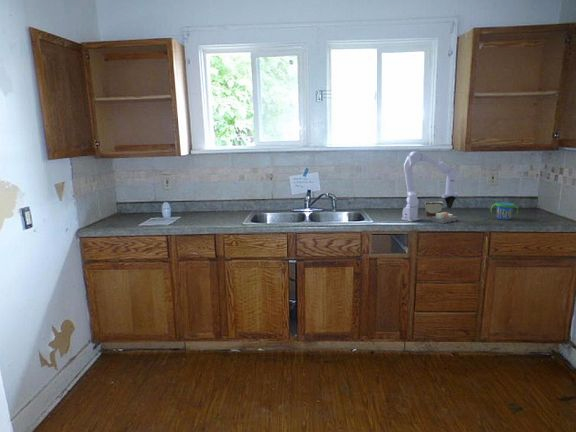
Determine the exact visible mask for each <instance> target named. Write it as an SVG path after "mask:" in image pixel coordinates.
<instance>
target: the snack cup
mask: <svg viewBox="0 0 576 432" xmlns="http://www.w3.org/2000/svg"><path fill="white" fill-rule="evenodd" d="M494 206H495V208H496V210H495V211H496V219H498V220H503V221H504V220H505V221H508V220H511V216H512V214H513V210H514V208H516V209H517V210H516V213H515V214H516V216H517V215H518V214H519V208H518V206H517V205H515V203H511V202H495V203H493V204H492V205H491V207H490V213H491V214H492V213H493V212H492V211H493V207H494Z"/></svg>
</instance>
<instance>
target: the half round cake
mask: <svg viewBox="0 0 576 432" xmlns="http://www.w3.org/2000/svg"><path fill="white" fill-rule="evenodd" d="M424 206H425V217H429V218H431V217H435V216H436V213H441V212H443V211H442V210H443V206H444V202H443V201H440V200H425V202H424Z"/></svg>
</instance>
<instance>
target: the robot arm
mask: <svg viewBox="0 0 576 432" xmlns="http://www.w3.org/2000/svg"><path fill="white" fill-rule="evenodd" d="M418 162H426V163H427V164H430V165H432V166H433V167H435V170H436V171H438V172H440V173H442V174H444V175H446V180H445V182H446V183H445V193H443V194H441V198H442V199H444V200H445V204H446V208H447V209H452V207H453V205H454V202H455V200H456V198H457V197H459V192H456V189H457V188H456V187H457V177H458V175H459V173H458V169H456V168H453V166H452V165H449V164H446V162H445V161H439V162H438V161H437V160H435V159H433V158H432V157H430V156H429V155H427V154H425V153H421V152H419V151H415V150H414V151H413V150H412V151H411V152H410V153H408V155H407V156H406V158H405V162H404V163H403V171H404V177H405V184H406V191H407V192H406V195H407V196H406V199H405V200H406V206H405V207H403V209H402V217H401V220H404V221H408V222H414V221H419V220H420V221H421V218H418V213H419V211H418V210H419V202H420V201H419V199H418V197H417V194H416V193H417V192H416V188H415V180H414V179H415V178H414V173H413V167H414V165H415V164H417V163H418Z"/></svg>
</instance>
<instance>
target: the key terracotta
mask: <svg viewBox="0 0 576 432" xmlns="http://www.w3.org/2000/svg"><path fill="white" fill-rule="evenodd" d="M441 213H443V214H444V218H447V217H448V214H450V212H446V211H441Z"/></svg>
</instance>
